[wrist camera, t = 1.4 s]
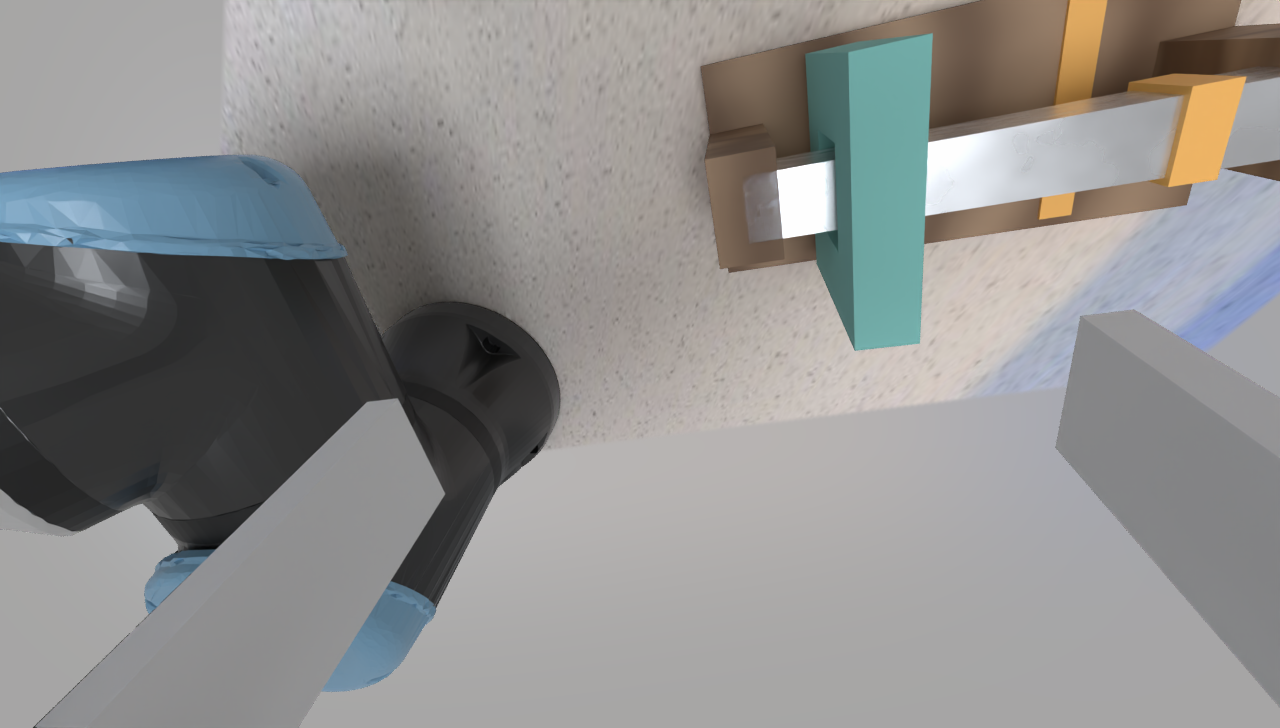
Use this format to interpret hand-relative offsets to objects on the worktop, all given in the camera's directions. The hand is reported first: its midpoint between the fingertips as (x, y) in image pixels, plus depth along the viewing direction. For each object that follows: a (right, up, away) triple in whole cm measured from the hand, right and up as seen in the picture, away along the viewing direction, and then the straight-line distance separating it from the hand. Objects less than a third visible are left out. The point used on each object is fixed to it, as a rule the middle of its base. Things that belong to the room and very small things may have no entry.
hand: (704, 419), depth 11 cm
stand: (+16, +14, +20) cm, 29 cm away
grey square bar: (+15, +11, +14) cm, 23 cm away
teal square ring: (+9, +12, +18) cm, 24 cm away
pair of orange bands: (+21, +14, +17) cm, 31 cm away
